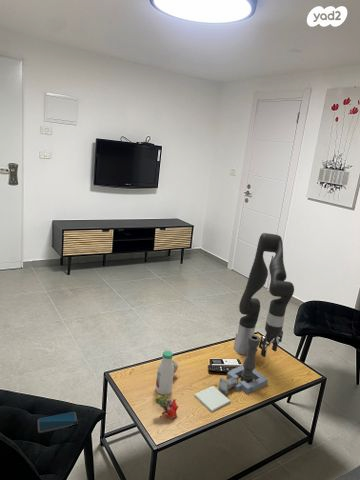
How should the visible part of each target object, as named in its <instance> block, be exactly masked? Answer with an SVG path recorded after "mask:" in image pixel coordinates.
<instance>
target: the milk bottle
mask: <svg viewBox="0 0 360 480" xmlns="http://www.w3.org/2000/svg"><path fill="white" fill-rule="evenodd" d="M172 360H173V352H172V351H171V350H164V351H163V352H162V358H161V361H160V362H159V365H158V366H157V374H156V381H155V391H156V392H157V393H158V394H159V395H162V396H164V395H165V396H166V395H168V394H170V393H171V392H172V390H173V381H174V374H175V373H174V366H173V363H172Z"/></svg>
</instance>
